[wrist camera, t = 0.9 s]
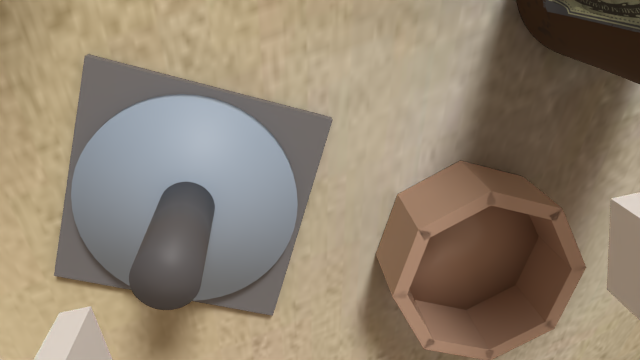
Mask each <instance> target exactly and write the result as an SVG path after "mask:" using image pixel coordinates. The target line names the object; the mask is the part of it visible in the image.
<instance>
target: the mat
mask: <svg viewBox="0 0 640 360" xmlns="http://www.w3.org/2000/svg"><path fill="white" fill-rule="evenodd" d="M174 94H190V95H200V96H205V97H210V98H214V99H217V100H220V101H224V102H227V103H229V104H231V105H233V106H235V107H237V108H240V109H241V110H243V111H245V112H246V113H248V114H249V115H251V116H252V117H254V118H255V119H256V120H258V121H259V122H260V123H261V124H262V125H264V126H265V127H266V128H267V129H268V131H269V132H270V133H271V134H272V135H273V136H274V137H275V138H276V140H277V141H278V143H279V144H280V145H281V147H282V148H283V150H284V152H285V154H286V156H287V158H288V160H289V162H290V165H291V168H292V171H293V174H294V179H295V184H296V190H297V202H298V207H297V218H296V222H295V227H294V231H293V233H292V236H291V239H290V241H289V243H288V245H287V247H286V249H285V250H284V252H283V254H282V255H281V256H280V258H279V259H278V260H277V262H276V263H275V264H274V265H273V266H272V267H271V268H270V269H269V270H268V271H267V272H266V273H265V274H264V275H263V276H261V277H260V278H259V279H258V280H256V281H255V282H253V283H251V284H250V285H248V286H246V287H244V288H242V289H240V290H238V291H236V292H234V293H231V294H228V295H224V296H221V297H217V298H212V299H207V300H196V301H195V302H201V303H206V304H212V305H217V306H223V307H228V308H234V309H239V310H245V311H250V312H256V313H261V314H267V315H272V316H273V313H274V310H275V307H276V303H277V300H278V297H279V293H280V290H281V287H282V284H283V280H284V277H285V274H286V271H287V267H288V264H289V261H290V257H291V254H292V251H293V248H294V244H295V241H296V238H297V235H298V231H299V228H300V225H301V221H302V218H303V215H304V212H305V208H306V205H307V202H308V199H309V195H310V192H311V189H312V185H313V182H314V179H315V176H316V172H317V169H318V166H319V162H320V159H321V156H322V153H323V149H324V146H325V143H326V140H327V136H328V133H329V130H330V126H331V123H332V118H331V117H328V116H324V115H320V114H317V113H313V112H309V111H305V110H301V109H297V108H293V107H290V106H286V105H282V104H278V103H274V102H270V101H266V100H263V99H259V98H255V97H251V96H247V95H243V94H240V93H236V92H232V91H228V90H224V89H220V88H216V87H213V86H209V85H205V84H201V83H197V82H193V81H189V80H186V79H182V78H178V77H174V76H170V75H166V74H162V73H159V72H155V71H151V70H147V69H143V68H139V67H136V66H132V65H128V64H124V63H120V62H116V61H112V60H109V59H105V58H101V57H97V56H93V55H89V54H88V55H86V56H85V59H84V66H83V73H82V80H81V87H80V94H79V102H78V109H77V116H76V123H75V130H74V137H73V144H72V151H71V159H70V166H69V173H68V180H67V187H66V194H65V201H64V208H63V216H62V223H61V230H60V237H59V244H58V251H57V258H56V265H55V273H54V276H58V277H63V278H69V279H74V280H80V281H85V282H91V283H96V284H102V285H107V286H113V287H118V288H124V289H129V290H131V287H130V286H129V285H127V284H125V283H124V282H122V281H121V280H119V279H118V278H116V277H115V276H113V275H112V274H111V273H110V272H109V271H107V270H106V269H105V268H104V267H103V266H102V265H101V264H100V263H99V262H98V261H97V260H96V259H95V258H94V256H93V255H92V254H91V252H90V251H89V250H88V248H87V247H86V245H85V243H84V241H83V239H82V238H81V236H80V234H79V231H78V228H77V226H76V223H75V220H74V215H73V211H72V202H71V188H72V179H73V175H74V170H75V167H76V165H77V162H78V160H79V157H80V155H81V153H82V151H83V150H84V148H85V146H86V145H87V143H88V142H89V141H90V139H91V138H92V137H93V136H94V134H95V133H96V132H97V131H98V130H99V129H100V128H101V127H102V126H103V125H104V124H105V123H106V122H107V121H108V120H109V119H111V118H112V117H113V116H115V115H116V114H117V113H119V112H120V111H122V110H123V109H125V108H127V107H129V106H131V105H133V104H135V103H138V102H141V101H143V100H146V99H149V98H153V97H158V96H164V95H174Z"/></svg>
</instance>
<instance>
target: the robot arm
mask: <svg viewBox="0 0 640 360" xmlns="http://www.w3.org/2000/svg"><path fill="white" fill-rule="evenodd" d="M607 290H608V291H609V292H610V293H611V294H612V295H613V296H614V297H615V298H617V299H618V300H619V301H620V302H621V303H622V304H623V305H624V306H625V307H626V308H627V309H628V310H629V311H630V312H631V313H632V314H634V315H635V316H636V317H637V318H638V319H639V320H640V192H639V193H635V194H630V195H625V196H620V197H615V198H611V203H610V227H609V250H608V273H607ZM34 360H113V359H112V357H111V354H110V352H109V350H108V347H107V345H106V342H105V340H104V337H103V335H102V332H101V330H100V327H99V325H98V322H97V320H96V318H95V315H94V313H93V310H92V308H91V306H90V307H85V308H80V309H75V310H71V311H66V312H61V313H59V314H58V316H57V318H56V320H55V322H54V324H53V325H52V327H51V329H50V331H49V333H48V334H47V336H46V338H45V340H44V342H43V344H42V345H41V347H40V349H39V351H38V353H37V354H36V356H35V358H34Z"/></svg>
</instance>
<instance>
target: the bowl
mask: <svg viewBox="0 0 640 360" xmlns="http://www.w3.org/2000/svg"><path fill="white" fill-rule="evenodd" d="M376 256H377V259H378V261H379V264H380V266H381V269H382V271H383V274H384V277H385V279H386V282H387V284H388V287H389V289H390V292H391V294H392V297H393V298H394V300H395V302H396V303H397V305H398V307H399V308H400V310H401V312H402V313H403V315H404V317H405V318H406V320H407V322H408V323H409V325H410V327H411V328H412V330H413V332H414V333H415V335H416V337H417V338H418V340H419V342H420V343H421V345H422V347H423V349H426V350H432V351H438V352H443V353H449V354H454V355H460V356H465V357H471V358H477V359H482V360H492V359H494V358H496V357H498V356H500V355H502V354H504V353H506V352H508V351H510V350H512V349H514V348H516V347H518V346H520V345H522V344H524V343H526V342H528V341H530V340H532V339H534V338H536V337H538V336H540V335H542V334H544V333H546V332H548V331H550V330H552V329H554V328H555V326H556V324H557V322H558V321H559V319H560V317H561V315H562V313H563V311H564V309H565V307H566V305H567V303H568V301H569V299H570V297H571V295H572V293H573V292H574V290H575V288H576V286H577V284H578V282H579V280H580V278H581V276H582V274H583V272H584V270H585V268H586V266H585V263H584V261H583V259H582V256H581V254H580V251H579V249H578V246H577V244H576V241H575V239H574V236H573V234H572V231H571V229H570V226H569V224H568V221H567V219H566V216H565V214H564V211H563V209H562V208H561V207H560V206H559V205H557V204H556V203H555V202H554V201H552V200H551V199H550V198H549V197H548V196H546V195H545V194H544V193H543V192H541V191H540V190H539V189H538V188H537V187H535V186H534V185H533V184H532V183H530V182H529V181H528V180H527V179H526V178H524V177H523V176H519V175H515V174H511V173H507V172H503V171H500V170H496V169H492V168H488V167H484V166H480V165H476V164H472V163H468V162H464V161H461V160H460V161H459V162H457V163H455V164H453V165H451V166H449V167H447V168H446V169H444V170H442V171H440V172H438V173H436V174H434V175H433V176H431V177H429V178H427V179H425V180H423V181H421V182H419V183H418V184H416V185H414V186H412V187H410V188H408V189H406V190H405V191H403V192H401V193H399V194H398V195H397V198H396V200H395V203H394V206H393V208H392V211H391V214H390V217H389V219H388V222H387V225H386V228H385V230H384V233H383V236H382V239H381V241H380V244H379V247H378V250H377V252H376Z"/></svg>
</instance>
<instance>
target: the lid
mask: <svg viewBox="0 0 640 360" xmlns="http://www.w3.org/2000/svg"><path fill="white" fill-rule="evenodd" d="M71 202H72V211H73V215H74V220H75V223H76V226H77V228H78V231H79V234H80V236H81V238H82V239H83V241H84V243H85V245H86V247H87V248H88V250H89V251H90V252H91V254H92V255H93V256H94V258H95V259H96V260H97V261H98V262H99V263H100V264H101V265H102V266H103V267H104V268H105V269H106V270H107V271H109V272H110V273H111V274H112V275H113V276H115V277H116V278H118V279H119V280H121V281H122V282H124V283H125V284H127V285H129V286H130V287H131V290H132V292H133V293H134V295H135V296H136V297H137V298H138V299H139V300H140V301H141V302H142V303H144V304H146V305H147V306H150V307H152V308H155V309H160V310H173V309H178V308H181V307H183V306H185V305H187V304H189V303H190V302H191V301H196V300H207V299H212V298H217V297H221V296H224V295H228V294H231V293H234V292H236V291H238V290H240V289H242V288H244V287H246V286H248V285H250V284H251V283H253V282H255V281H256V280H258V279H259V278H260V277H261V276H263V275H264V274H265V273H266V272H267V271H268V270H269V269H270V268H271V267H272V266H273V265H274V264H275V263H276V262H277V260H278V259H279V258H280V256H281V255H282V254H283V252H284V250H285V249H286V247H287V245H288V243H289V241H290V239H291V236H292V233H293V231H294V227H295V222H296V218H297V207H298V202H297V190H296V184H295V179H294V174H293V171H292V168H291V165H290V162H289V160H288V158H287V156H286V154H285V152H284V150H283V148H282V147H281V145H280V144H279V143H278V141H277V140H276V138H275V137H274V136H273V135H272V134H271V133H270V132H269V131H268V129H267V128H266V127H265V126H264V125H262V124H261V123H260V122H259V121H258V120H256V119H255V118H254V117H252V116H251V115H249V114H248V113H246V112H245V111H243V110H241V109H240V108H237V107H235V106H233V105H231V104H229V103H227V102H224V101H220V100H217V99H214V98H210V97H205V96H200V95H190V94H174V95H164V96H158V97H153V98H149V99H146V100H143V101H141V102H138V103H135V104H133V105H131V106H129V107H127V108H125V109H123V110H122V111H120V112H119V113H117V114H116V115H115V116H113V117H112V118H111V119H109V120H108V121H107V122H106V123H105V124H104V125H103V126H102V127H101V128H100V129H99V130H98V131H97V132H96V133H95V134H94V136H93V137H92V138H91V139H90V141H89V142H88V143H87V145H86V146H85V148H84V150H83V151H82V153H81V155H80V157H79V160H78V162H77V165H76V167H75V170H74V175H73V179H72V188H71Z"/></svg>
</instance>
